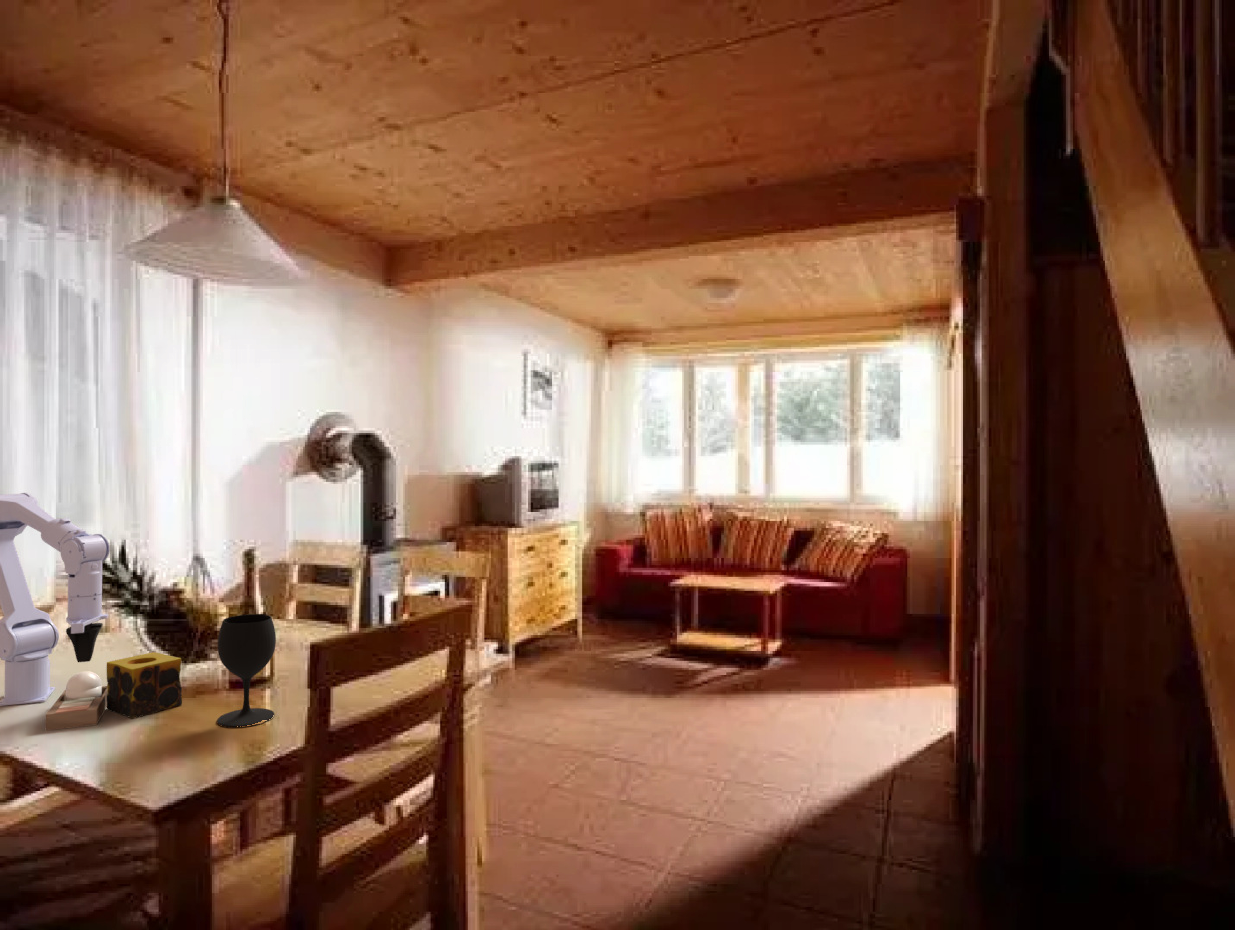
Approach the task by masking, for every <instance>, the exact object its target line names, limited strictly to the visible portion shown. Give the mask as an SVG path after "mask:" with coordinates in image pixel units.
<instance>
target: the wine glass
mask: <svg viewBox="0 0 1235 930" xmlns="http://www.w3.org/2000/svg"><path fill="white" fill-rule="evenodd" d="M217 638H218V639H217V653H218V657H219V659H220V662H221V664H222V665H223V666H224V667H225V668H226V669H227V670H228V671H229V672H230V673H231V674H233V675H235V676H236V677H238V678H240V679H241V682H242V685H243V704H242V708H241V709H238V710H237V709H236V710H232V711H230V712H227V713H224V714H222V715H220V716H219V717H218V718H217V720H216V723H217V722H218V724H220V725H222V726H226V727H225V728H228V727H237V726H238V727H240V726H241V727H242V726H247V725H252V724H255V723H258V722H261V721H262V720H269V719H271V718H272V717H273V715H274V716H275V712H274V710H272V709H268V708H264V707H263V708H262V707H261V708H260V707H251V705H250V687H251V686H250V684H251V681H252V678H254V676H256V675H257V674H258V673H260V672H261V671H262V670H263V669H264V668H265V667H266V666H267V665H268V664H269V662H270V661H271V659H272V657H273V655H274V653H275V650H276V643H277V637H276V629H275V625H274V620H273V619H272V616H271V615H268V614H261V613H259V614H258V613H255V614H254V613H253V614H250V613H249V614H240V615H239V614H238V615H235V616H229V617H226V618H224V619H223V620H222V623H221V626H220V629H219V632H218V637H217ZM273 718H274V717H273ZM273 718H272V719H273ZM272 719H271V720H272ZM218 724H217V725H218ZM220 725H219V726H220ZM222 726H221V727H222Z"/></svg>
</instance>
